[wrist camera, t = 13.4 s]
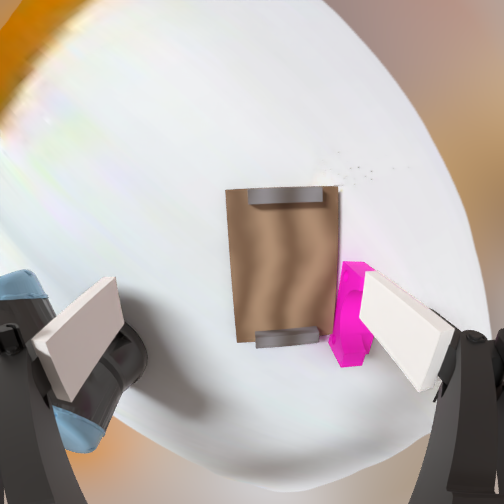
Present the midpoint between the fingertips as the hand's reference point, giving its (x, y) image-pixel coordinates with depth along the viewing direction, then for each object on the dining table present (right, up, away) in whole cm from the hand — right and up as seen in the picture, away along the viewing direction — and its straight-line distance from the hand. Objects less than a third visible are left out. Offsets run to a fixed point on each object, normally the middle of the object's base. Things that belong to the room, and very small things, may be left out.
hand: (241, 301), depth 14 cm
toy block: (+17, -6, +31) cm, 36 cm away
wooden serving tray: (+5, 0, +28) cm, 28 cm away
